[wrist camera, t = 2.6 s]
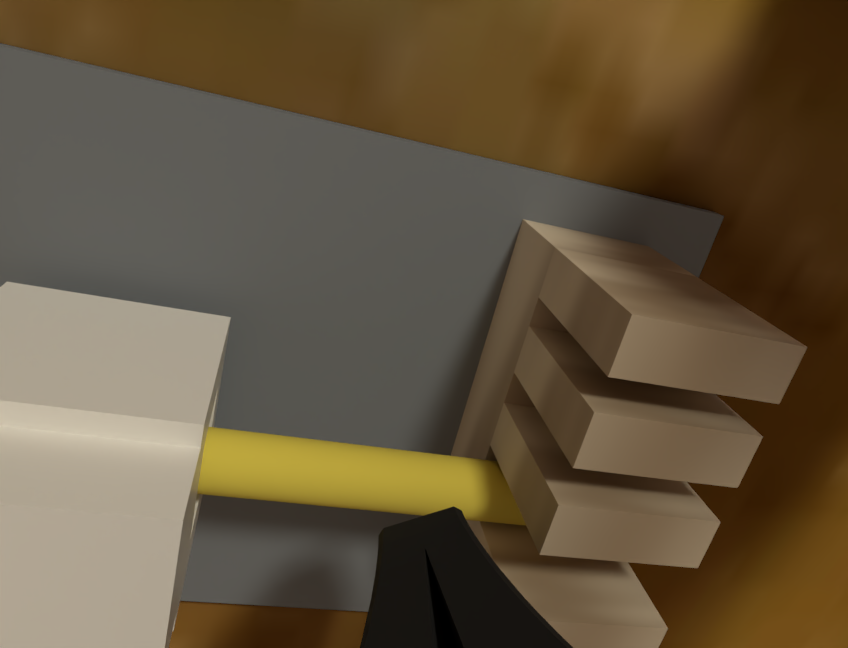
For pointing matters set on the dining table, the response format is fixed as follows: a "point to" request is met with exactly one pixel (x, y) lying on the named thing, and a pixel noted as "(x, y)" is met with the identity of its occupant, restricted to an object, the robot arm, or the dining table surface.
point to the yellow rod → (352, 476)
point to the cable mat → (289, 278)
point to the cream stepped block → (100, 464)
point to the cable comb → (612, 423)
